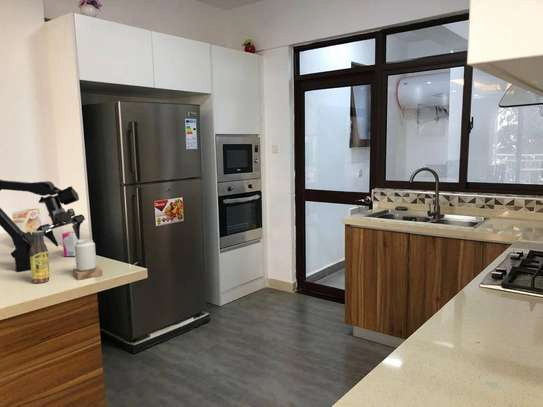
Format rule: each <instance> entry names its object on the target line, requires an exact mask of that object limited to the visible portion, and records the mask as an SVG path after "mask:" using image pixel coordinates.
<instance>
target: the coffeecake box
mask: <svg viewBox="0 0 543 407" xmlns="http://www.w3.org/2000/svg"><path fill="white" fill-rule="evenodd" d="M11 213H12V214H11V215H12V221H13V222H14V223H15V224H16V225H17V226H18V227H19V228H20V230H21V231H23V232H25V233H27V232H30V233H31V234H32V232H33V231H36V230H37V228H38V227H39V226H42V216H41V208H27V209H22V210H19V211H13V212H11Z"/></svg>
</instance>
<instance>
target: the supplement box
mask: <svg viewBox="0 0 543 407" xmlns="http://www.w3.org/2000/svg"><path fill="white" fill-rule="evenodd" d="M61 235H62V247H63V257H64V258H76V257H75V244H76V241H79V240H81V238H80V239H79V240H78V239H77V237H76V235H75V232H74V231H67V232H64V233H62V234H61Z"/></svg>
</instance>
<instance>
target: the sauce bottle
mask: <svg viewBox="0 0 543 407" xmlns="http://www.w3.org/2000/svg"><path fill="white" fill-rule="evenodd" d="M43 235H44V231H33V232H32V236H33V245H32V246H31V249H30V262H31V270H30V274H31V277H30V278H31V283H33V284H43V283H47V282H49V281H50V261H49V251H48V248H47V245H46V244H45V240H44V237H45V236H43Z"/></svg>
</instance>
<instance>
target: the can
mask: <svg viewBox="0 0 543 407" xmlns="http://www.w3.org/2000/svg"><path fill="white" fill-rule="evenodd" d="M74 258H75V267H76V268H75V269H78V270H79V271H91V270H94V269H95V268H96V266H98V264H97V254H96V243H95V242H94V240H93V239H89V238H88V239H86V238H85V239H80V240H79V241H76V244H75V257H74Z"/></svg>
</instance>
